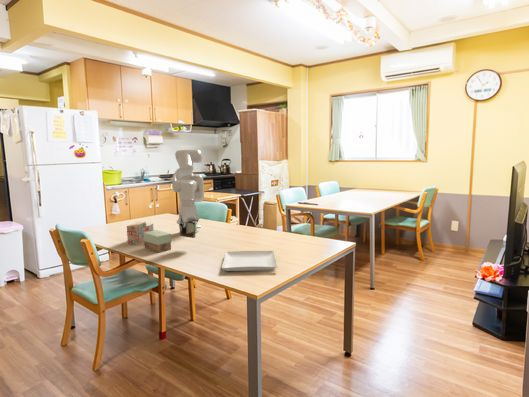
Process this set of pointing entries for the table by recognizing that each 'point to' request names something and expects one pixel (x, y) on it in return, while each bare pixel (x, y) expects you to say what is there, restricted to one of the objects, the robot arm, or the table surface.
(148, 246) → the tower base slab
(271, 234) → the table surface
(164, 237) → the tower top slab
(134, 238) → the stack of blocks
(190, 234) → the food container
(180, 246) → the table surface
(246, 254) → the square plate
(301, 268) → the table surface
